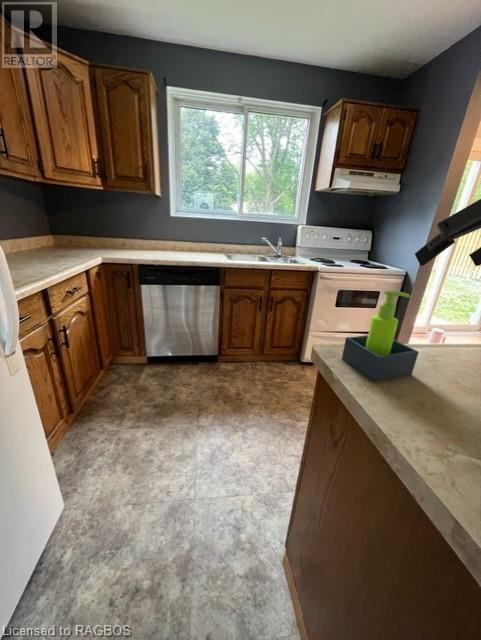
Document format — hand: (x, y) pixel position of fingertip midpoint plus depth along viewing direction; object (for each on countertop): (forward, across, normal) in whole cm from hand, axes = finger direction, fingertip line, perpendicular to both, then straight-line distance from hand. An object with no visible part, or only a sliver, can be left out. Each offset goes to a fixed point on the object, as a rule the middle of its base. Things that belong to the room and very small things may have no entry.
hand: (447, 260), depth 52 cm
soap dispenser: (+28, 0, -13) cm, 31 cm away
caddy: (+28, 0, -13) cm, 31 cm away
